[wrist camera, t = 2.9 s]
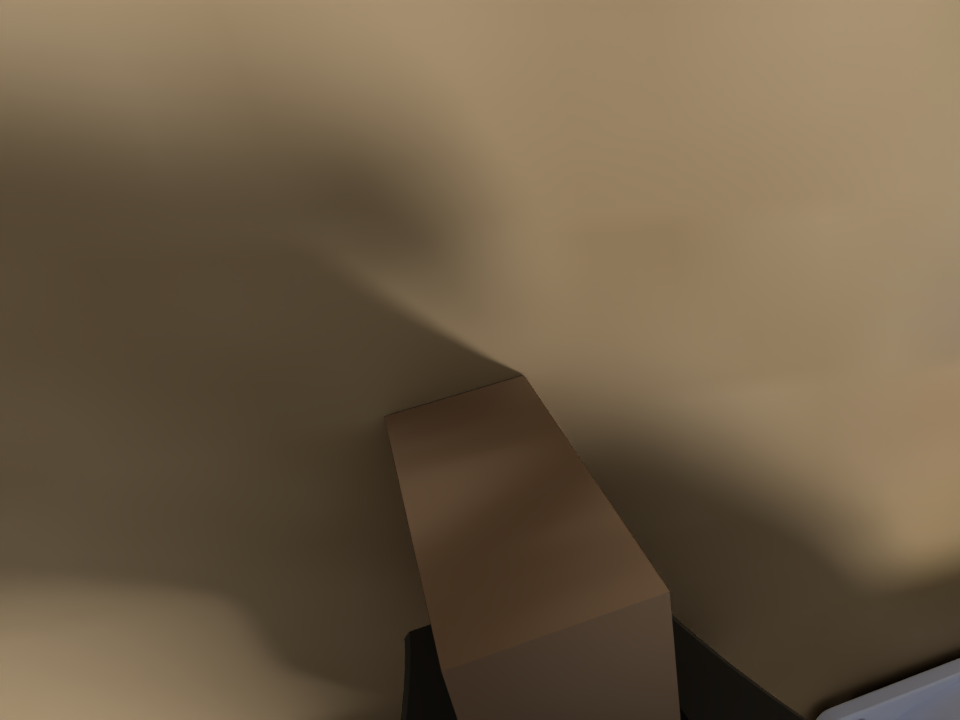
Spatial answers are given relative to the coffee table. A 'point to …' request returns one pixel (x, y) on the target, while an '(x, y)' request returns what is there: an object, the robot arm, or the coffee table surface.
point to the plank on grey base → (529, 567)
